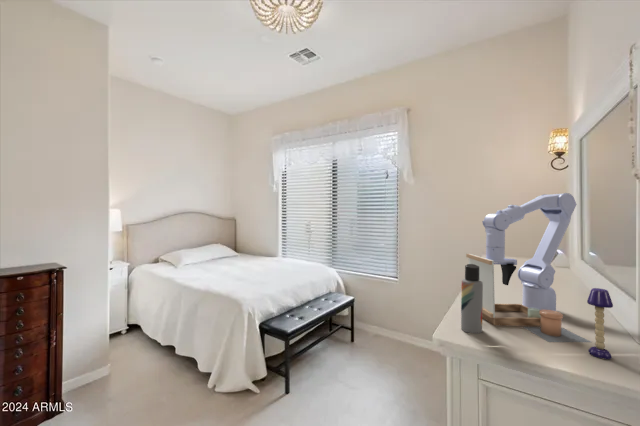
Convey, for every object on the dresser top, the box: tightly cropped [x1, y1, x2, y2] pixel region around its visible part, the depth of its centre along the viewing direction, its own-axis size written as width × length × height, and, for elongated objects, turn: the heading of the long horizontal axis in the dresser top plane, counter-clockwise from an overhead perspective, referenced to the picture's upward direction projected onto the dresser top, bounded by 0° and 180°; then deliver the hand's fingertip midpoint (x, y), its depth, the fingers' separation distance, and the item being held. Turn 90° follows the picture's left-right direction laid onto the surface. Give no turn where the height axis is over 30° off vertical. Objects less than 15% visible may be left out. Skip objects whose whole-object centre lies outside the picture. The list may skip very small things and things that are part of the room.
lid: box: [465, 253, 496, 318], centre depth 95 cm, size 18×14×1 cm
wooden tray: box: [482, 303, 541, 327], centre depth 95 cm, size 18×14×3 cm
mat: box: [522, 326, 592, 343], centre depth 82 cm, size 12×10×1 cm
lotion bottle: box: [460, 263, 483, 334], centre depth 85 cm, size 6×6×20 cm
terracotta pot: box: [539, 309, 564, 336], centre depth 83 cm, size 5×5×6 cm
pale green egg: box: [528, 308, 541, 318], centre depth 91 cm, size 4×4×4 cm
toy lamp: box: [586, 287, 614, 360], centre depth 71 cm, size 5×5×17 cm
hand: (494, 284), depth 101 cm, fingers open, 7 cm apart
